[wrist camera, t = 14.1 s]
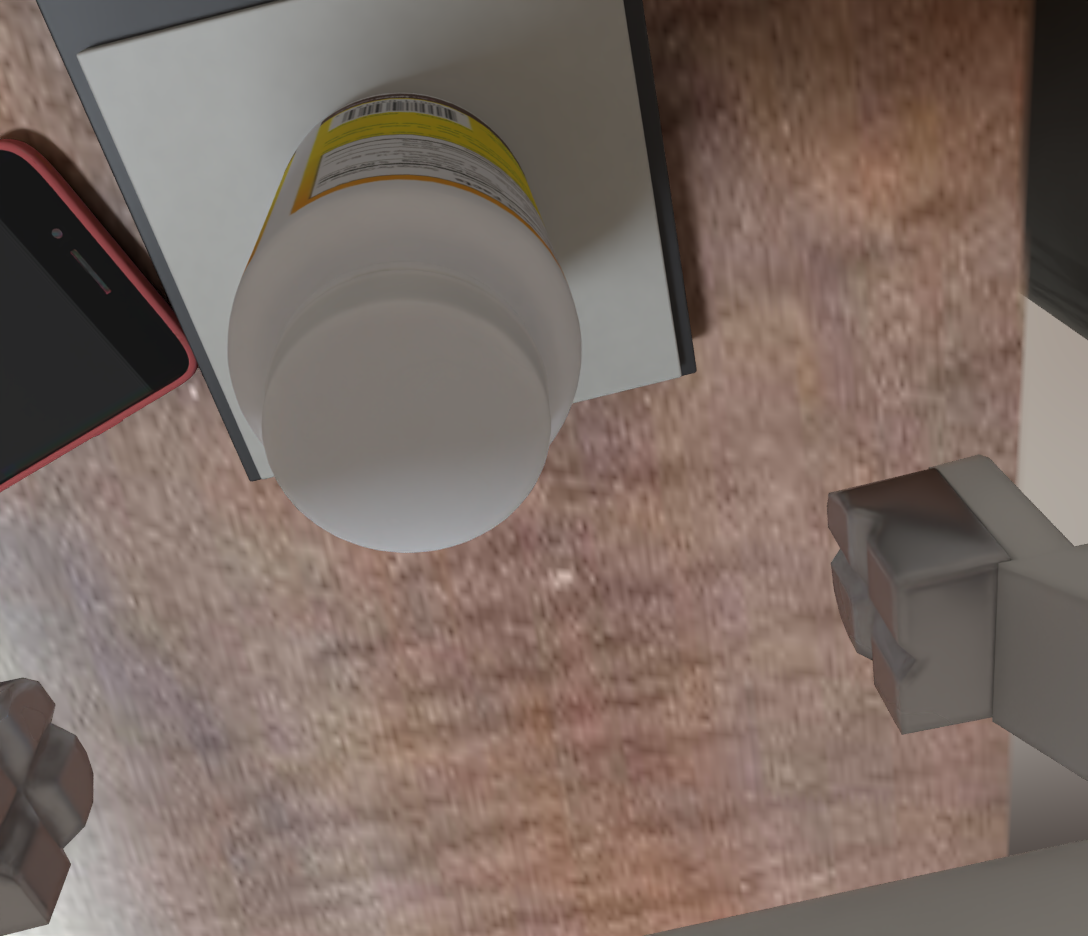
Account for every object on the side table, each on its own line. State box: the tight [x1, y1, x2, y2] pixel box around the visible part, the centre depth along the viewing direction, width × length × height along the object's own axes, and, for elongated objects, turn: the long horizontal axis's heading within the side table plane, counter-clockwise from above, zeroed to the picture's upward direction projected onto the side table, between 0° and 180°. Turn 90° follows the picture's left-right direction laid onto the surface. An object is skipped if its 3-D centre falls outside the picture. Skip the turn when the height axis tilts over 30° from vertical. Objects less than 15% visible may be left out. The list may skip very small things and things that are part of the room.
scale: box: [36, 0, 697, 481], centre depth 23 cm, size 12×12×2 cm
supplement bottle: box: [227, 93, 582, 553], centre depth 18 cm, size 6×6×10 cm
